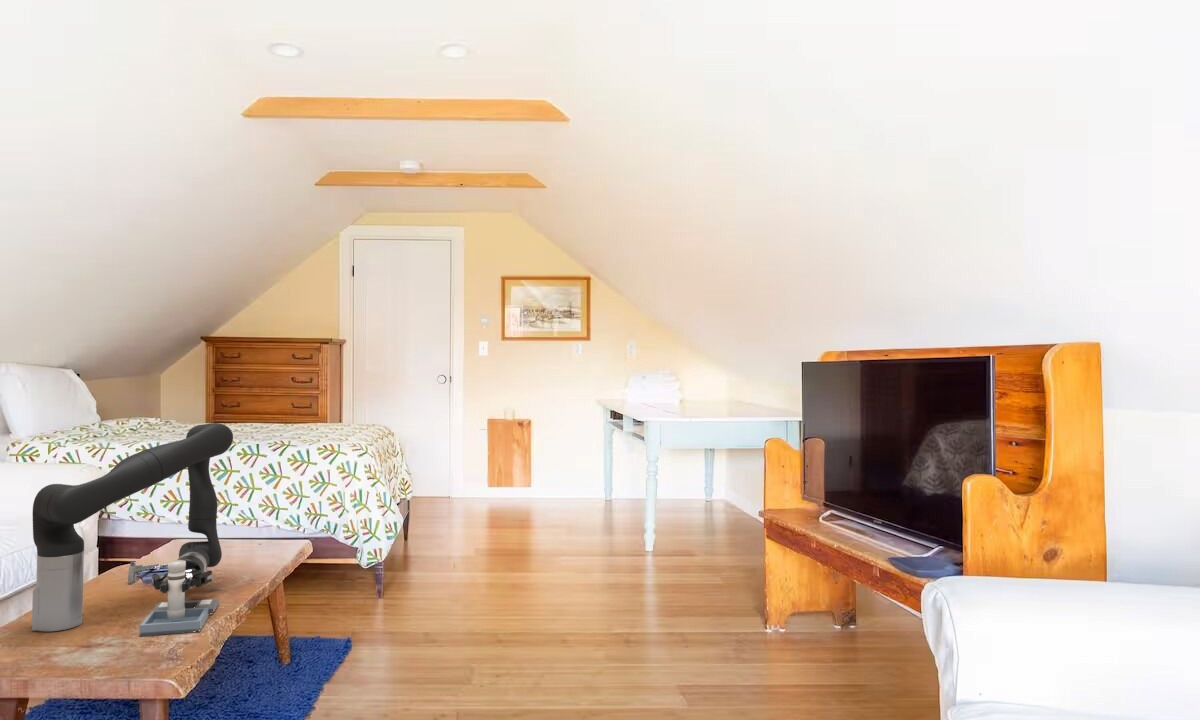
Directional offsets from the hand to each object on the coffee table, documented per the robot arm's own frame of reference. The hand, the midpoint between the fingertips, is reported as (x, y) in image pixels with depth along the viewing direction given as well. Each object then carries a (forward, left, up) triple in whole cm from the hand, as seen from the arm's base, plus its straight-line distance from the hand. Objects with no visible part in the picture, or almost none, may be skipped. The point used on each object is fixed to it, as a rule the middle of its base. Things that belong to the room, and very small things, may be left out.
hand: (174, 588), depth 187 cm
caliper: (-18, +55, -10) cm, 59 cm away
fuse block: (0, +15, -10) cm, 18 cm away
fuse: (0, +3, -7) cm, 8 cm away
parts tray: (0, +3, -10) cm, 10 cm away
